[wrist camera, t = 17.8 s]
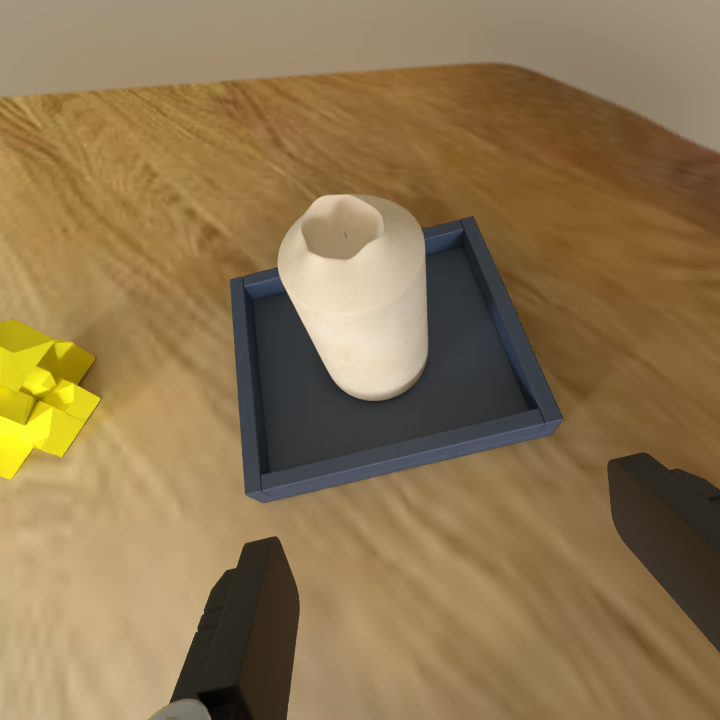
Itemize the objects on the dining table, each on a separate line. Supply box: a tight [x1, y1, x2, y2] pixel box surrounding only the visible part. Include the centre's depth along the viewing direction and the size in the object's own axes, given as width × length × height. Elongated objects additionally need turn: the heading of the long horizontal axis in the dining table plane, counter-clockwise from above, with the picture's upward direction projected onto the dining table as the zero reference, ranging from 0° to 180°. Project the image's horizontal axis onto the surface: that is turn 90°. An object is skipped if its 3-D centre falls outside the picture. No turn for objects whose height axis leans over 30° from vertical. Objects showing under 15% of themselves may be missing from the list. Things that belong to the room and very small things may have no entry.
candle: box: [278, 194, 428, 401], centre depth 19 cm, size 6×6×10 cm
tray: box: [230, 216, 563, 503], centre depth 23 cm, size 15×13×2 cm
